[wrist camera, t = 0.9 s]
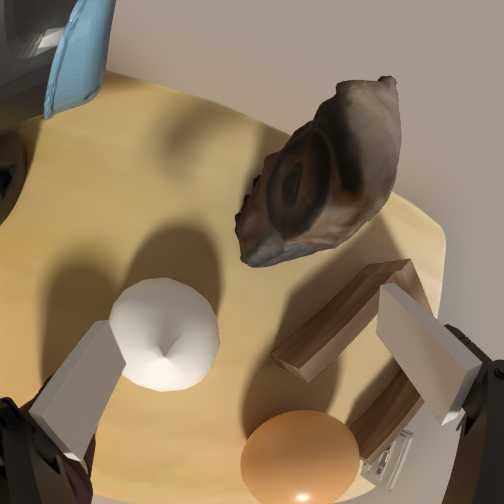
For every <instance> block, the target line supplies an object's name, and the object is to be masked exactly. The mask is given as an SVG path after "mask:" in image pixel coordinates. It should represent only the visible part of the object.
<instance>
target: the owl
mask: <svg viewBox="0 0 504 504" xmlns="http://www.w3.org/2000/svg"><path fill="white" fill-rule="evenodd" d="M396 83H397V82H396V80H395V78H393V77H391V76H382V77H380V78H379V79H378V81H365V80H348V81H343V82H340V83H338V84H337V85H336V94H335V96H334V97H332V98H330V99H328V100H326V101H324V102H323V103H322V104H321V105H320V106H319V108H318V110H317V112H316V114H315V117H314V119H313V120H312V121H309V122H308V123H306V124H305V125H304V126H302V127H300V128H299V129H298V130H296V131H295V132H294V133H293V135H292V137H291V138H290V140H289V141H288V142H287V144H286V145H285V147H284V148H283V149H282V150H281V151H279V152H275V153H272V154H271V155H268V156H267V157H266V158H265V161H264V168H263V170H262V174H261V175H258V176H257V177H256V178H255V179H254V180H253V190H252V193H251V195H245V198H244V207H243V209H242V213H240V212H239V213H238V214H236V215H235V221H236V227H235V233H236V235H237V237H238V240H239V244H240V251H241V257H240V259H241V261H242V262H243V263H245V264H248V266H250V267H254V268H258V267H268V266H273V265H276V264H278V263H281V262H284V261H289V260H292V259H296V258H299V257H303V256H307V255H310V254H313V253H315V252H317V251H322V250H327V249H333V248H336V247H337V246H339V245H340V244H341V243H343V242H345V241H347V240H348V239H349V238H351V237H352V236H353V235H354V234H355V233H356V232H357V231H358V230H359V228H360V227H362V226H363V225H364V224H365V223H366V222H367V221H370V220H371V219H372V217H373V216H374V215H375V214H377V213H378V212H379V211H380V210H381V208H382V207H383V206H384V205H385V203H386V202H387V200H388V198H389V196H390V193H391V190H392V188H393V186H394V183H395V179H396V173H397V164H398V160H399V154H400V146H401V123H400V113H399V106H398V94H397V90H396Z"/></svg>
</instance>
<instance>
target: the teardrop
mask: <svg viewBox="0 0 504 504" xmlns="http://www.w3.org/2000/svg"><path fill="white" fill-rule="evenodd" d="M108 321H109V324H110V326H111V329H112V332H113V334H114V337H115V339H116V341H117V344H118V346H119V348H120V351H121V353H122V355H123V358H124V360H125V362H126V366H125V368H124V370H123V372H122V375H124V376H125V377H126V378H128V379H129V380H131V381H132V382H133V383H135V384H137V385H140V386H143V387H146V388H150V389H153V390H156V391H173V390H183V389H186V388H188V387H190V386H193V385H195V384H197V383H199V382H200V381H201V380H202V379H203V378H204V376H205V375H206V374H207V373H208V372H209V370H210V369H211V368H212V366H213V363H214V360H215V357H216V354H217V351H218V348H219V345H220V339H219V331H218V323H217V317H216V315H215V313H214V311H213V309H212V307H211V305H210V304H209V302H208V300H206V299H205V298H204V297H203V296H202V295H201V294H199V293H198V292H197V291H196V290H195V289H194V288H192V287H190V286H188V285H185V284H183V283H180V282H178V281H175V280H173V279H170V278H168V277H167V278H156V279H144V280H142V281H140V282H138V283H136V284H134V285H133V286H131V287H129V288H127V289H125V290H124V291H123V293H122V294H121V295H120V296H119V298H118V299H117V300H116V301H115V302H114V304H113V307H112V310H111V313H110V316H109V320H108Z"/></svg>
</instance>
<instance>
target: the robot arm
mask: <svg viewBox="0 0 504 504" xmlns="http://www.w3.org/2000/svg"><path fill="white" fill-rule="evenodd" d="M115 3H116V0H0V225H1V224H2V223H3V221H4V220H5V219H6V218H7V216H8V215H9V213H10V212H11V210H12V208H13V206H14V205H15V203H16V201H17V198H18V196H19V194H20V191H21V189H22V186H23V182H24V178H25V174H26V167H27V152H26V147H25V144H24V141H23V140H22V138H21V137H20V135H19V134H18V132H17V131H16V129H18V128H21V127H23V126H26V125H29V124H31V123H34V122H37V121H39V120H42V119H45V120H48V119H50V118H52V117H53V115H55V114H57V113H60V112H63V111H66V110H69V109H71V108H74V107H77V106H80V105H83V104H86V103H88V102H89V101H91V100H92V99H93V98H94V97H95V96H96V95H97V94H98V92H99V91H100V89H101V87H102V85H103V81H104V76H105V69H106V60H107V53H108V45H109V38H110V31H111V25H112V20H113V14H114V8H115ZM376 334H377V335H378V337H379V338H380V339H381V341H382V342H383V343H384V345H385V346H386V347H387V349H388V350H389V352H390V353H391V354H392V356H393V357H394V358H395V360H396V361H397V363H398V364H399V365H400V367H401V368H402V370H403V371H404V372H405V374H406V375H407V377H408V378H409V379H410V381H411V382H412V384H413V385H414V387H415V388H416V390H417V391H418V392H419V394H420V395H421V397H422V398H423V400H424V401H425V403H426V404H427V406H428V407H429V409H430V410H431V412H432V413H433V415H434V416H435V418H436V419H437V421H438V422H439V424H440V425H443V424H445V423H447V422H449V421H450V420H453V419H454V418H456V417H457V415H458V413H459V411H460V409H461V408H463V409H464V411H465V412H466V413H465V414H464V416H463V418H462V420H461V421H460V423H459V425H458V426H457V429H456V431H458V430H459V429H460V427H461V425H462V428H461V434H460V439H459V444H458V449H457V453H456V457H455V461H454V466H453V469H452V473H451V476H450V480H449V483H448V486H447V490H446V492H445V495H444V498H443V501H442V504H504V360H495V361H492V360H491V359H490V358H489V357H488V356H487V355H486V354H484V352H483V351H481V350H480V349H479V348H478V347H477V346H476V345H475V344H474V343H473V342H472V343H471V340H470V339H468V338H467V337H465V335H464V334H463V333H462V332H461V331H460V330H459V329H457V328H455V327H452V326H450V325H449V324H447V325H444V326H443V325H442V324H441V323H440V322H439V321H438V320H437V319H436V318H435V317H433V316H432V315H431V314H430V313H429V312H428V311H427V310H426V309H424V308H423V307H422V306H421V305H420V304H419V303H418V302H416V301H415V300H414V299H413V298H412V297H411V296H409V295H408V294H407V293H406V292H405V291H403V290H402V289H401V288H400V287H399V286H397V285H396V284H395V283H394V282H393V283H389V284H384V285H380V297H379V310H378V320H377V329H376ZM125 366H126V362H125V360H124V358H123V355H122V353H121V351H120V348H119V346H118V344H117V341H116V339H115V337H114V334H113V332H112V329H111V326H110V324H109V321H108V320H101V321H95V323H94V324H93V325H92V326H91V327H90V329H89V330H88V331H87V332H86V334H85V335H84V336H83V337H82V339H81V340H80V341H79V342H78V344H77V345H76V346H75V348H74V349H73V350H72V351H71V353H70V354H69V355H68V357H67V358H66V359H65V361H64V362H63V363H62V365H61V366H60V367H59V369H58V370H57V371H56V372H55V373H54V374H53V375H52V376H50V377H49V378H48V379H47V380H46V382H45V383H44V385H43V388H42V387H41V389H40V390H39V392H38V393H37V394H36V396H35V397H34V399H33V400H32V402H31V403H30V405H29V406H28V407H27V409H26V410H25V412H24V413H23V414H22V412H21V411H20V410H19V408H18V407H17V405H16V404H15V403H14V401H13V400H12V399H11V398H9V397H4V398H1V399H0V459H1V460H2V461H3V463H2V466H1V465H0V504H78V503H77V501H76V499H75V496H74V494H73V491H72V489H71V486H70V483H69V481H68V478H67V475H66V472H65V469H64V466H63V463H62V460H61V458H60V456H59V455H58V454H57V453H58V451H59V449H60V450H61V451H62V452H63V453H64V454H65V455H66V456H67V458H70V459H74V460H77V461H80V462H82V460H83V457H84V455H85V452H86V450H87V448H88V445H89V443H90V440H91V438H92V436H93V434H94V431H95V429H96V427H97V424H98V422H99V420H100V418H101V416H102V413H103V411H104V409H105V407H106V405H107V403H108V401H109V398H110V396H111V394H112V392H113V390H114V388H115V386H116V384H117V382H118V380H119V378H120V376H121V374H122V372H123V370H124V368H125Z"/></svg>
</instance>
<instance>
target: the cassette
mask: <svg viewBox="0 0 504 504" xmlns="http://www.w3.org/2000/svg"><path fill="white" fill-rule="evenodd" d="M413 436H414V434H413V433H412V432H409V431H407V430H404V429H403V431H402V432H401V433H400V434H399V435H398V436H397V438H396V439H395V440H394V441H393V442H392V443H391V444H390V446H389V447H388V448H387V449H386V450H385V451H384V452H383V453H382V454H381V455H380V456H379V457H378V458H377V459H376V460H375V462H374V463H373V464H372V465H369V464H368V463H366V462H363V465H362V468H363V469H362V471H361V474H360V475H361V476H362V477H363V478H365V479H366V480H368V481H369V482H371V483H372V484H374V485H375V486H377V487H379V488H380V489H382V490H383V491H385V492H389V491H391V490H392V488H393V486H394V484H395V482H396V480H397V477H398V475H399V473H400V470H401V468H402V465H403V463H404V460H405V458H406V455H407V453H408V450H409V447H410V444H411V442H412V439H413ZM388 453H389V456H388V458H387V461H386V462H385V459H386V456H387V454H388Z"/></svg>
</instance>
